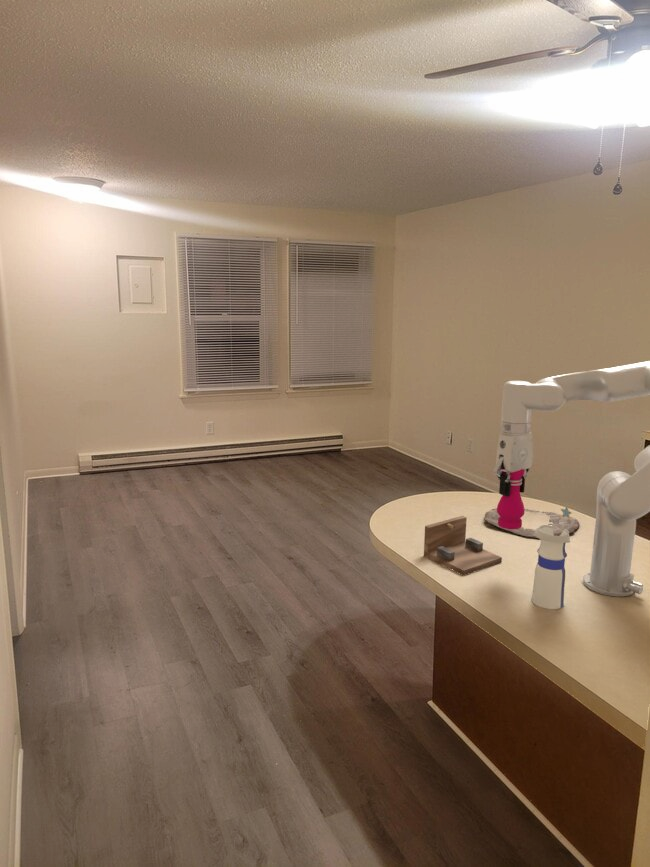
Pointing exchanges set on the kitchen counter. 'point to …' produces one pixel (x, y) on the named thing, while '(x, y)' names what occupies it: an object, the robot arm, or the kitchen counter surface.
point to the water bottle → (550, 567)
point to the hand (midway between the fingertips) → (511, 492)
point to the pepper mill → (512, 503)
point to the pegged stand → (456, 547)
